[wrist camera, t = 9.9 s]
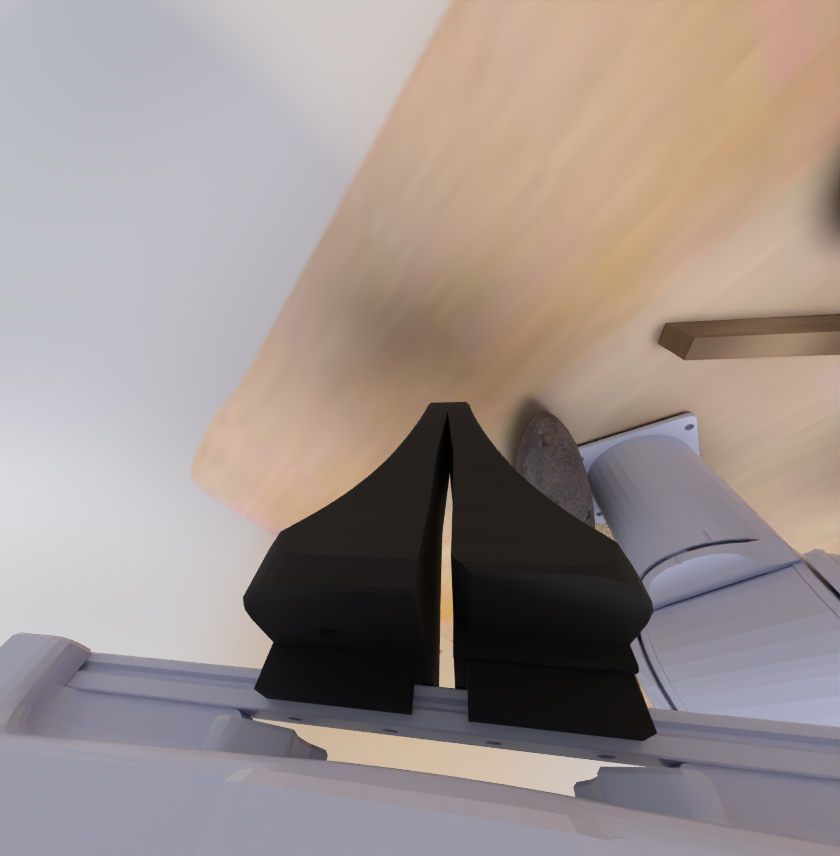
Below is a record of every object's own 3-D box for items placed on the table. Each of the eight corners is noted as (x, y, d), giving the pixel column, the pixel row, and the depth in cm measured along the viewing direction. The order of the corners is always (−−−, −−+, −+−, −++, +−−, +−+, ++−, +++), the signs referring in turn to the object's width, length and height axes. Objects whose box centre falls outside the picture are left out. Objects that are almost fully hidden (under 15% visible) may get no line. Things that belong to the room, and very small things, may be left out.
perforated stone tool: (501, 399, 21) (517, 466, 15) (581, 386, 20) (630, 454, 14) (514, 528, 29) (528, 602, 24) (571, 524, 28) (601, 602, 22)
